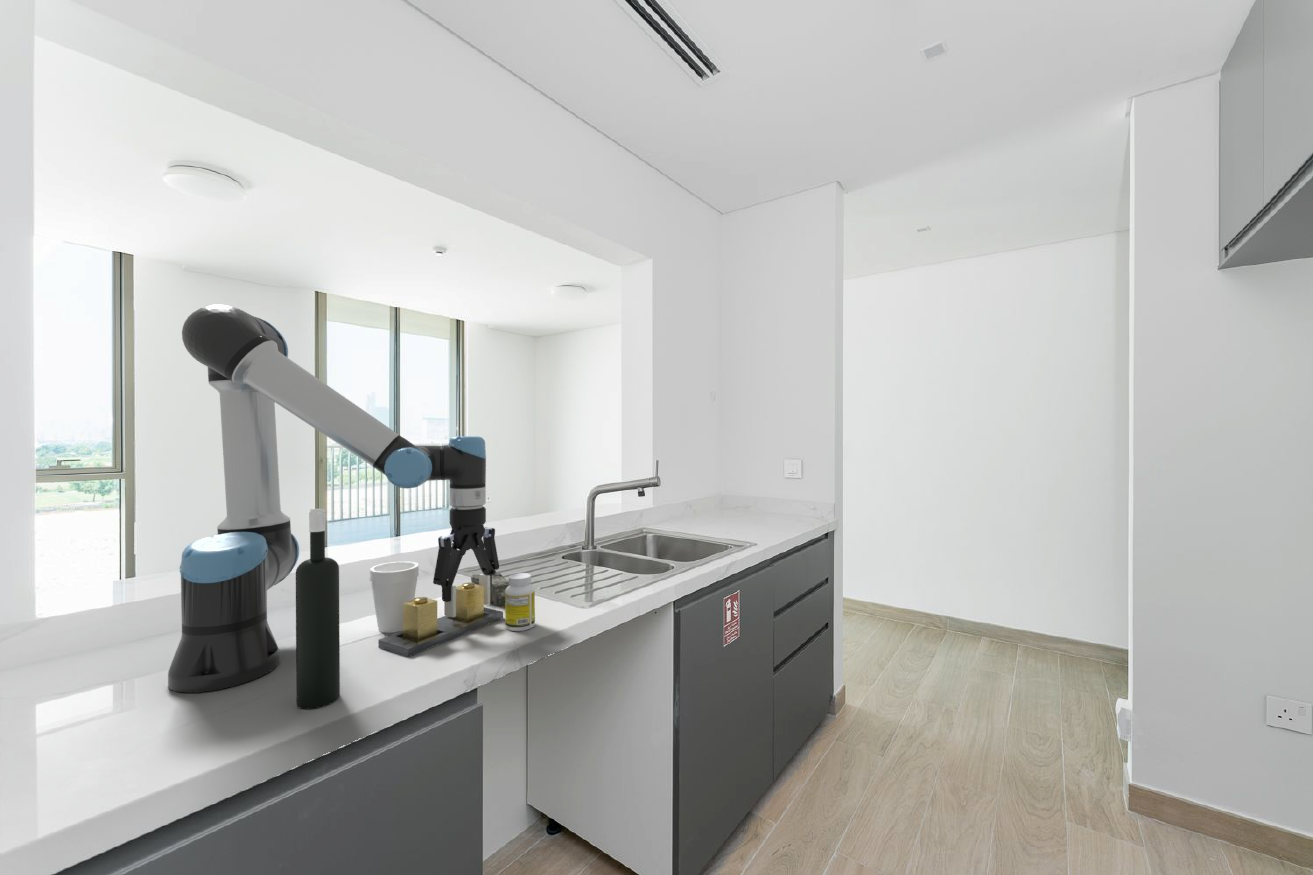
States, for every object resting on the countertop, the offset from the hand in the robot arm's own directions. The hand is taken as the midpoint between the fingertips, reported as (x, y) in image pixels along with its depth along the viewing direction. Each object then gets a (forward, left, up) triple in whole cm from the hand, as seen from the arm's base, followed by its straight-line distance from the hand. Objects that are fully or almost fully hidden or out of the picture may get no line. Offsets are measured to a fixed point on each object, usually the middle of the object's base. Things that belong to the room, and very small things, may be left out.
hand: (468, 609), depth 119 cm
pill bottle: (+4, -11, -3) cm, 13 cm away
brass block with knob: (-12, 0, -3) cm, 12 cm away
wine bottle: (-35, -7, -3) cm, 36 cm away
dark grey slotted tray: (-6, 0, -3) cm, 7 cm away
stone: (+15, +7, -3) cm, 17 cm away
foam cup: (-9, +12, -3) cm, 15 cm away
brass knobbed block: (0, 0, -3) cm, 3 cm away
